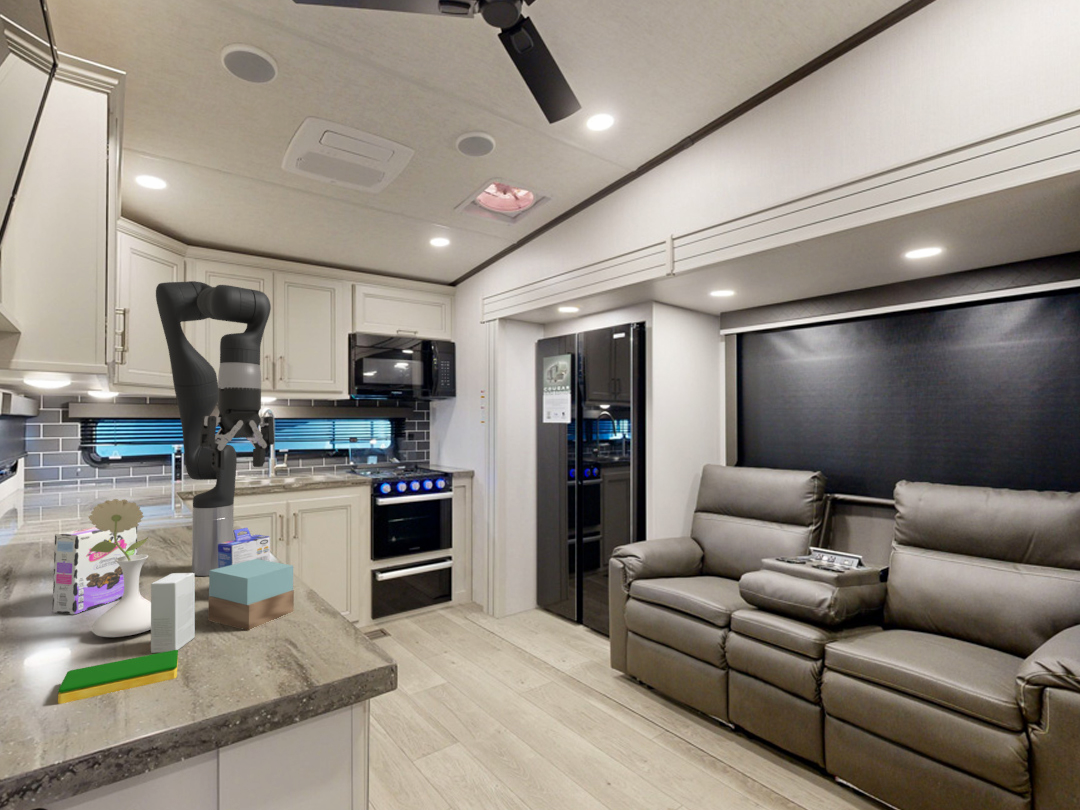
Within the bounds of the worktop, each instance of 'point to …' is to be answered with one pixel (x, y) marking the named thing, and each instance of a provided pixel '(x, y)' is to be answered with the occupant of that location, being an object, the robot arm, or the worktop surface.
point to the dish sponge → (118, 676)
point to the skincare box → (172, 612)
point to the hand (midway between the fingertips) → (238, 468)
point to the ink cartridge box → (243, 549)
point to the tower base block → (250, 610)
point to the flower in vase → (132, 607)
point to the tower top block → (250, 581)
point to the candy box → (88, 569)
